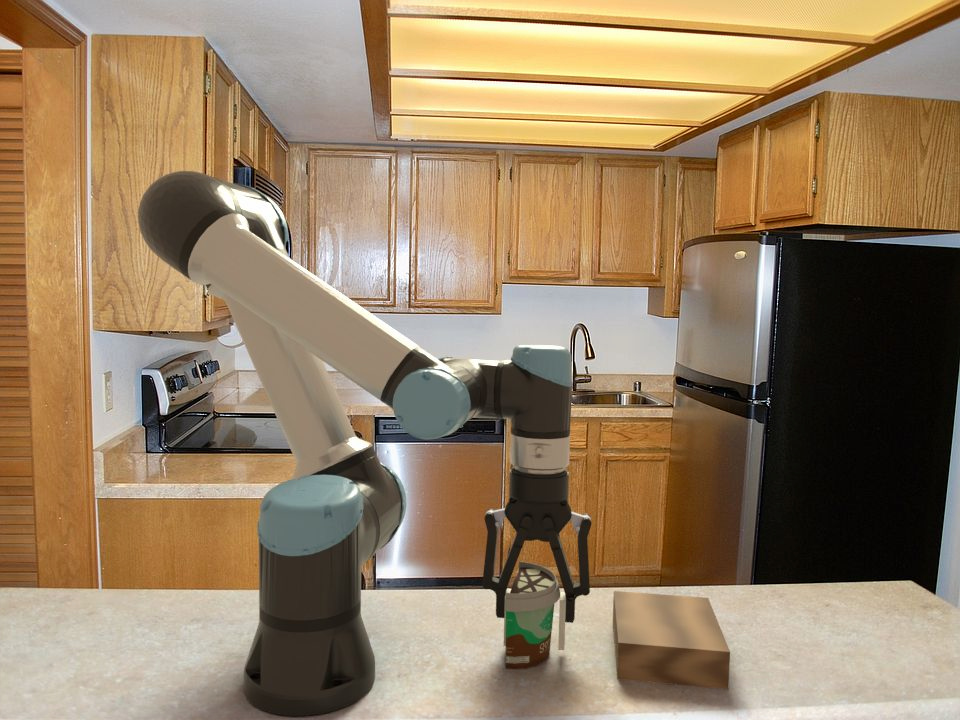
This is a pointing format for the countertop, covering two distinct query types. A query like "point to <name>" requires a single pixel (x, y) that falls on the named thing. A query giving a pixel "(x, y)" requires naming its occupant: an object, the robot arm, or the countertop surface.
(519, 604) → the food container
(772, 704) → the countertop surface
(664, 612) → the walnut block
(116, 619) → the countertop surface
